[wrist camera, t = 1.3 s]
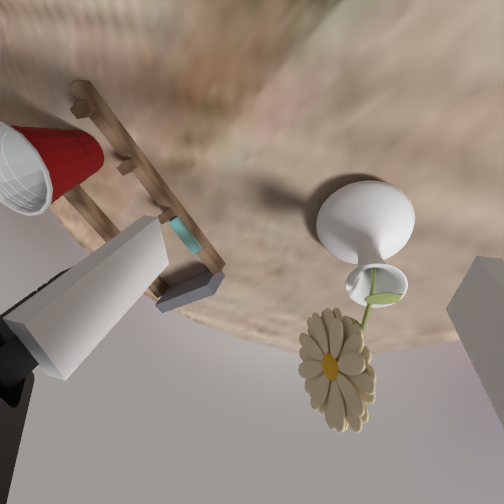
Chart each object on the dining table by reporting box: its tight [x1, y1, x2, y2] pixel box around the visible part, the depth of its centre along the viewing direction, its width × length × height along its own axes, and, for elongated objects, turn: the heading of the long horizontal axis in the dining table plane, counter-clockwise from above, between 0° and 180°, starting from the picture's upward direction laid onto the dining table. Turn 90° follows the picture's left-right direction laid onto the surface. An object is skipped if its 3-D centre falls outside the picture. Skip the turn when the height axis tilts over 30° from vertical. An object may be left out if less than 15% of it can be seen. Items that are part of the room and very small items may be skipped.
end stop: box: [155, 271, 225, 313], centre depth 46 cm, size 2×13×5 cm, turn 123°
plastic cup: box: [0, 121, 104, 216], centre depth 34 cm, size 11×11×12 cm
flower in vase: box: [299, 180, 415, 433], centre depth 24 cm, size 13×11×25 cm
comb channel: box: [63, 81, 225, 298], centre depth 41 cm, size 31×16×4 cm, turn 33°
